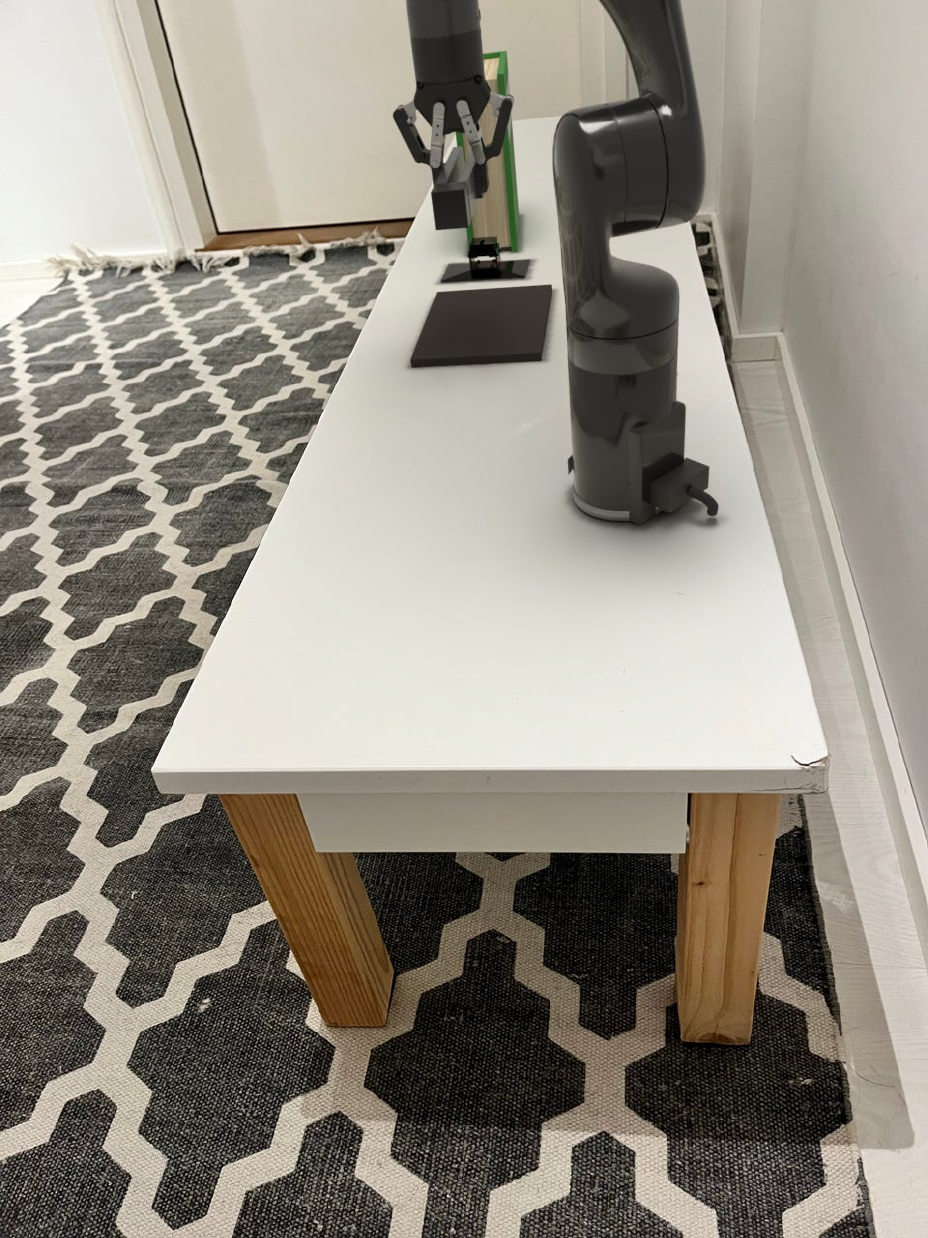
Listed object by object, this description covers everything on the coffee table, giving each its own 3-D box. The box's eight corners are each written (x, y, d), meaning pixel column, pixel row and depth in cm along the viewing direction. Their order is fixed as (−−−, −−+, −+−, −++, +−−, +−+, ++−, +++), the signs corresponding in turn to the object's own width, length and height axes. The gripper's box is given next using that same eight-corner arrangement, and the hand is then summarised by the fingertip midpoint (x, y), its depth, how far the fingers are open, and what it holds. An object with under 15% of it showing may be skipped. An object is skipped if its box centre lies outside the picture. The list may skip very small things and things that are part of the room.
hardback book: (517, 251, 146) (503, 73, 131) (469, 256, 147) (449, 79, 132) (519, 215, 160) (506, 50, 145) (475, 219, 160) (457, 56, 145)
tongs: (468, 227, 104) (464, 189, 102) (435, 230, 105) (430, 191, 102) (485, 179, 118) (482, 144, 115) (456, 181, 118) (453, 146, 116)
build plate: (440, 284, 139) (435, 251, 137) (449, 265, 145) (445, 234, 142) (525, 278, 137) (522, 245, 134) (531, 260, 142) (528, 228, 139)
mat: (541, 360, 115) (541, 352, 115) (411, 367, 118) (410, 359, 117) (552, 291, 132) (551, 283, 131) (437, 298, 135) (436, 291, 134)
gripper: (372, 40, 99) (398, 213, 110) (508, 25, 97) (521, 203, 108) (385, 27, 105) (409, 193, 116) (514, 13, 103) (526, 183, 113)
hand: (463, 197), depth 112 cm, fingers closed on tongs, 3 cm apart
